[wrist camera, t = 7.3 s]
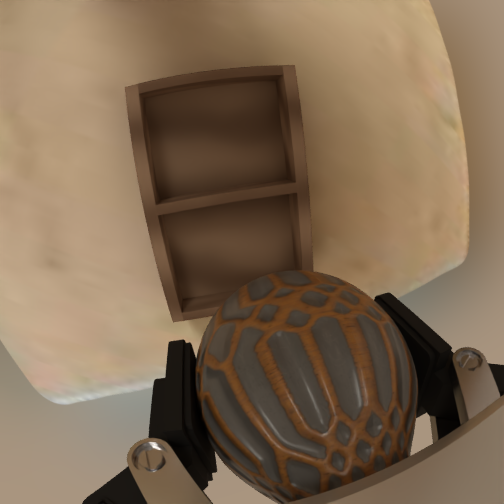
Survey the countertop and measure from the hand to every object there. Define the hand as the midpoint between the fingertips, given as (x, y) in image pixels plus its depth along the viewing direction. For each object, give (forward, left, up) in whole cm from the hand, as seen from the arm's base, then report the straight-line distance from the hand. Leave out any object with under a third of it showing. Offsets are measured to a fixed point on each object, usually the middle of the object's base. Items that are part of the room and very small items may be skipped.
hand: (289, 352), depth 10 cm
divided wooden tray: (-3, 0, -18) cm, 18 cm away
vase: (0, 0, -2) cm, 2 cm away
